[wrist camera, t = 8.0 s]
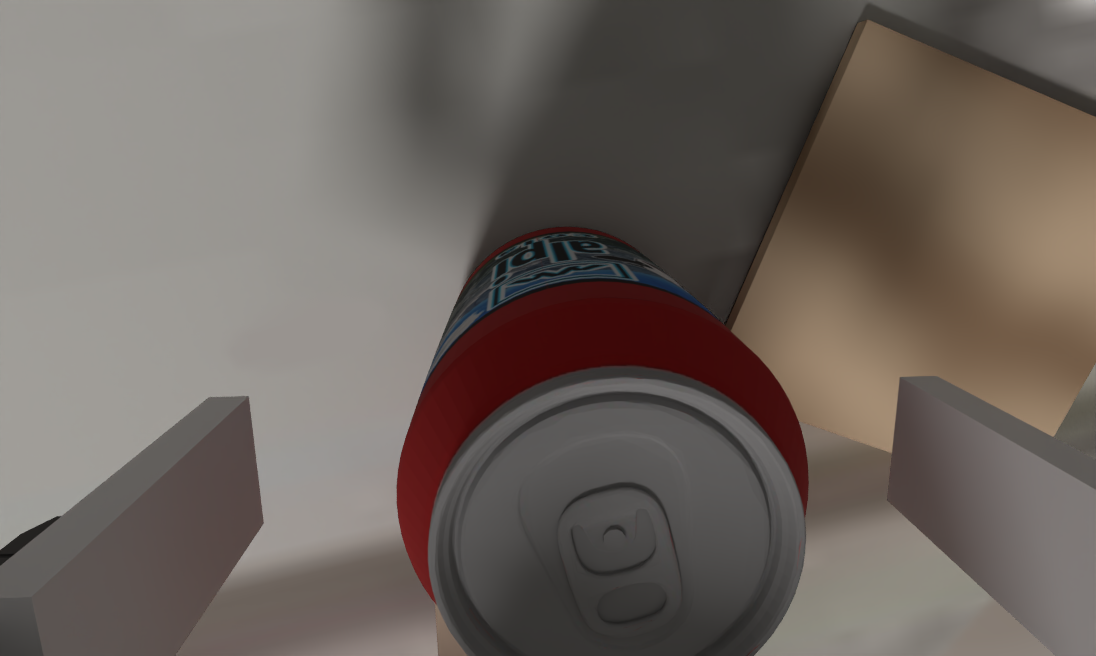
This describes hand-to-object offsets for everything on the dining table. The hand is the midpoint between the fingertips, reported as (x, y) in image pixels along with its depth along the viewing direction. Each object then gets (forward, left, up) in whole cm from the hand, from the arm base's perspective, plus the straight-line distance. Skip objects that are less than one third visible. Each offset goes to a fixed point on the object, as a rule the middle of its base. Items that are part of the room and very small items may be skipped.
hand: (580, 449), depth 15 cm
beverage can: (0, 0, -8) cm, 8 cm away
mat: (-6, +10, -7) cm, 14 cm away
